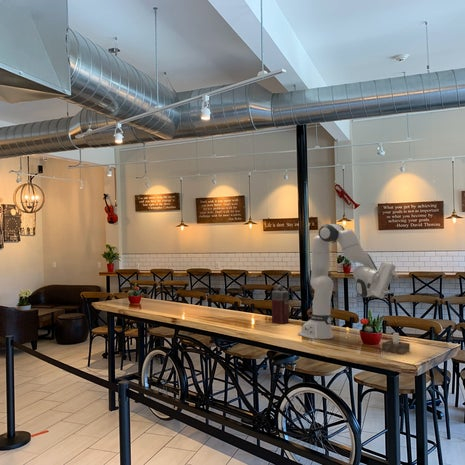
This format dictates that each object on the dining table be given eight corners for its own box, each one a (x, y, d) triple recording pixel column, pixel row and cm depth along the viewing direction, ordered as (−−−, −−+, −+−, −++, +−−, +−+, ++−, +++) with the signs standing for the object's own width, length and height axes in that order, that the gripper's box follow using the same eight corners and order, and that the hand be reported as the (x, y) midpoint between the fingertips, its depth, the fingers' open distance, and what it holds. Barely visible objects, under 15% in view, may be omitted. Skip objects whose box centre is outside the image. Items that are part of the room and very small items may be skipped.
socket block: (382, 350, 246) (382, 342, 246) (390, 348, 253) (390, 340, 253) (401, 354, 238) (401, 346, 238) (409, 351, 245) (409, 343, 245)
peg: (391, 351, 245) (391, 333, 246) (394, 350, 247) (394, 332, 248) (397, 352, 243) (397, 333, 243) (399, 351, 245) (399, 333, 245)
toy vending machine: (284, 324, 322) (284, 285, 322) (271, 322, 329) (271, 284, 330) (291, 323, 328) (291, 284, 329) (278, 321, 336) (278, 283, 336)
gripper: (386, 262, 257) (405, 268, 245) (372, 295, 257) (390, 302, 245) (379, 259, 254) (397, 264, 242) (365, 292, 254) (383, 299, 242)
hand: (394, 284), depth 243 cm, fingers open, 8 cm apart
